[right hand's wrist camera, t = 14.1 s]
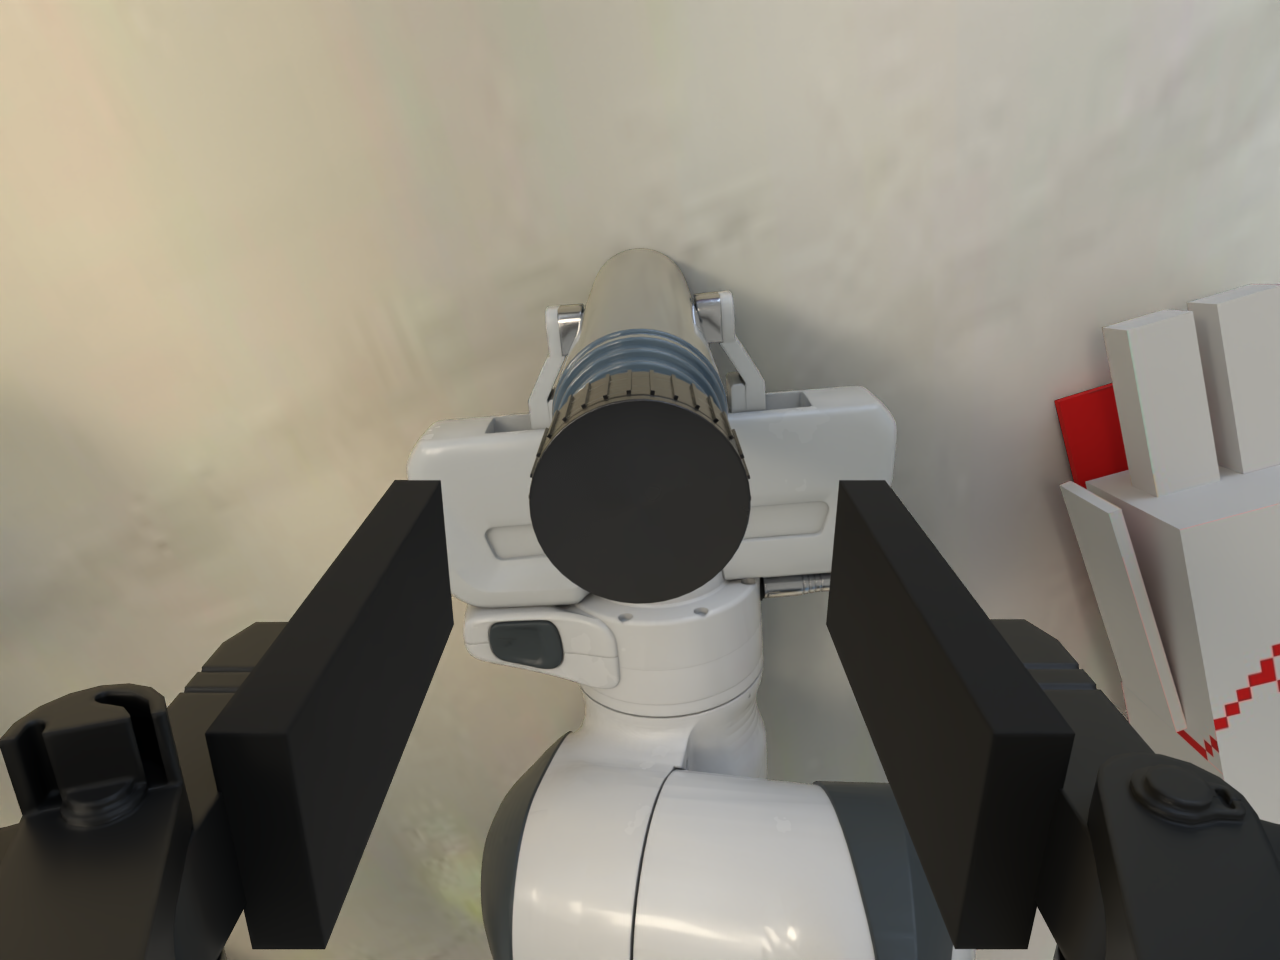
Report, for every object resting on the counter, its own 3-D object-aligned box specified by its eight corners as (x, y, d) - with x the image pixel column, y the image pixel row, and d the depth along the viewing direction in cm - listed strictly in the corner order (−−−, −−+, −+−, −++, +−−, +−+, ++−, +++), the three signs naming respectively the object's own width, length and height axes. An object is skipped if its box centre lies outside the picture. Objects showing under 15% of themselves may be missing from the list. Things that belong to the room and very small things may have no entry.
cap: (586, 333, 17) (578, 358, 15) (777, 418, 18) (794, 453, 16) (508, 512, 19) (492, 557, 17) (688, 585, 19) (693, 637, 17)
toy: (1454, 261, 30) (1521, 955, 36) (1220, 266, 43) (1299, 775, 49) (1105, 362, 31) (1228, 1014, 38) (980, 337, 44) (1087, 824, 51)
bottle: (615, 231, 39) (578, 346, 16) (704, 273, 40) (797, 444, 16) (576, 321, 40) (490, 551, 17) (663, 360, 41) (693, 632, 18)
